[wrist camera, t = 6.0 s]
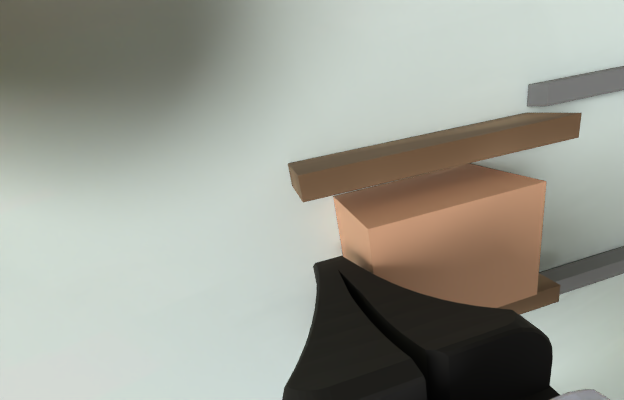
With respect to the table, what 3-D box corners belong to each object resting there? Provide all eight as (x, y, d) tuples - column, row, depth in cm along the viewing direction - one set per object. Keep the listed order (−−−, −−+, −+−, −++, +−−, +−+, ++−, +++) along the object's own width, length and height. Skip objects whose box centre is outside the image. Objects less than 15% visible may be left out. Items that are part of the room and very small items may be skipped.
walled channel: (516, 275, 17) (558, 301, 15) (322, 336, 16) (336, 376, 13) (526, 112, 14) (581, 112, 12) (287, 163, 13) (297, 175, 10)
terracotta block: (468, 251, 16) (536, 294, 12) (348, 287, 15) (383, 346, 11) (468, 163, 15) (546, 181, 11) (333, 196, 13) (367, 229, 10)
